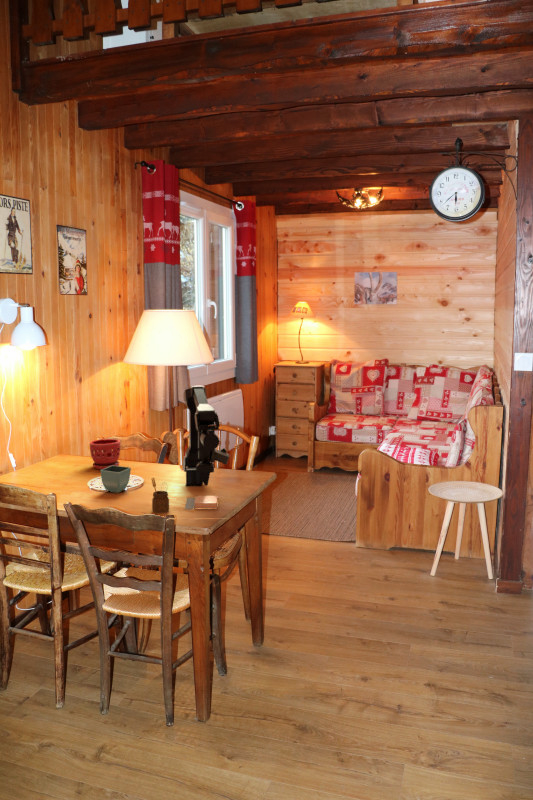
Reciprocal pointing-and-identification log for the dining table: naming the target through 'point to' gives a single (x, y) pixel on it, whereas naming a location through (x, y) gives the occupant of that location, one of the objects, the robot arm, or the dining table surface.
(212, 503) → the block
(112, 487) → the flower pot
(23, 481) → the dining table surface
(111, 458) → the plant pot
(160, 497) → the utensil holder
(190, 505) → the slate mat
